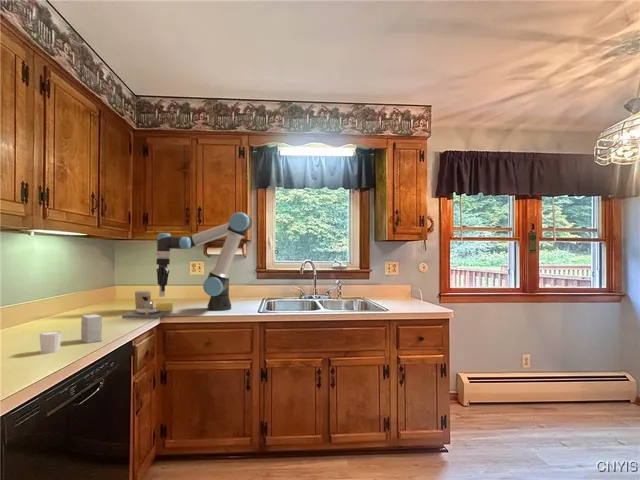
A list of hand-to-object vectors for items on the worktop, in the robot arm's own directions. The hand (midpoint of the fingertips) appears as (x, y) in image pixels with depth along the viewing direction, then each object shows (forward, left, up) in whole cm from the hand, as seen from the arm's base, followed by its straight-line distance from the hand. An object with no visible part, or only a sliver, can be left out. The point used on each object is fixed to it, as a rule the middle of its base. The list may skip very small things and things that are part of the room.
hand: (161, 296), depth 229 cm
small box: (0, +70, -10) cm, 71 cm away
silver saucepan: (+1, +8, -8) cm, 11 cm away
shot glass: (+5, +87, -10) cm, 88 cm away
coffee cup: (+15, -6, -10) cm, 18 cm away
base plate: (+4, +10, -10) cm, 14 cm away
